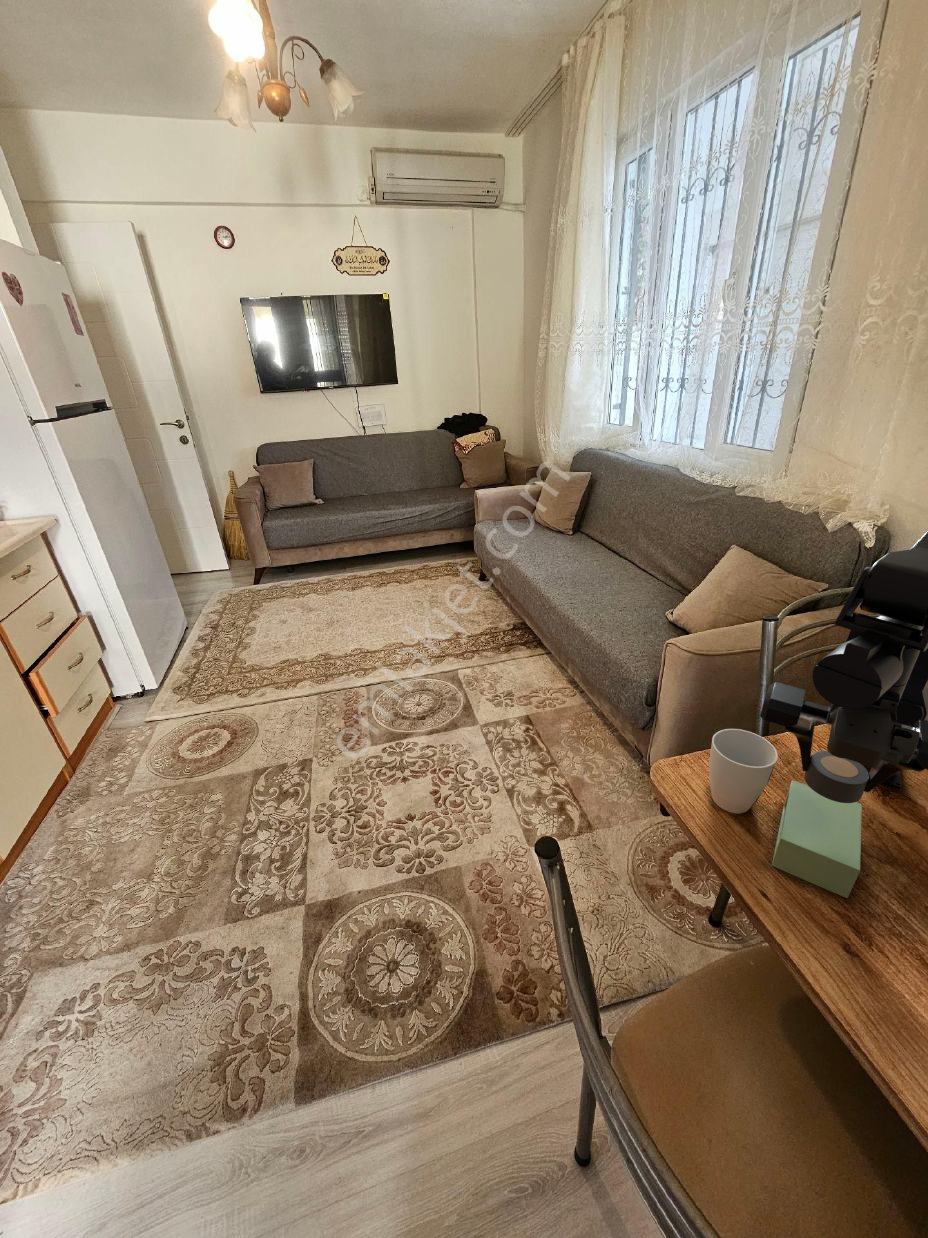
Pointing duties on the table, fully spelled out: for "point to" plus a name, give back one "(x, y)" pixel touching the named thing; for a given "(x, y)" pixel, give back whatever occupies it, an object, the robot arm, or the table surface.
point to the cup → (739, 768)
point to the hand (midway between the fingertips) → (834, 779)
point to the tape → (836, 777)
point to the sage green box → (819, 840)
